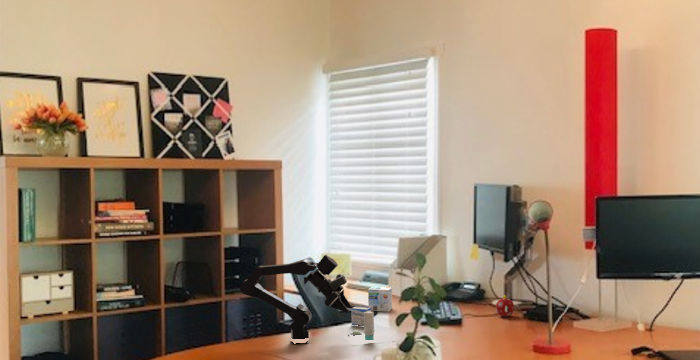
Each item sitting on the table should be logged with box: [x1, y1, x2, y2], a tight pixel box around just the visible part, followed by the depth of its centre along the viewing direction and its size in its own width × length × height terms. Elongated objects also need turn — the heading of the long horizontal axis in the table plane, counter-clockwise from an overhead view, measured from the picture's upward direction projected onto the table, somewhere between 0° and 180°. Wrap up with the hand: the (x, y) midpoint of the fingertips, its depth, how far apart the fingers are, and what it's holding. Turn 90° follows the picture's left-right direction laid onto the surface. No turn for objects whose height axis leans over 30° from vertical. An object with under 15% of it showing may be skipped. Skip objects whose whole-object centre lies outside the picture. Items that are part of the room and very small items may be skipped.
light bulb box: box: [367, 286, 393, 312], centre depth 381 cm, size 11×7×11 cm, turn 73°
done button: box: [352, 329, 360, 335], centre depth 326 cm, size 3×3×2 cm
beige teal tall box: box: [363, 311, 375, 340], centre depth 317 cm, size 4×4×12 cm
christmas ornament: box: [495, 294, 516, 318], centre depth 359 cm, size 9×9×10 cm
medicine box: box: [350, 306, 372, 326], centre depth 346 cm, size 8×4×9 cm, turn 62°
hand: (349, 309), depth 318 cm, fingers open, 9 cm apart
